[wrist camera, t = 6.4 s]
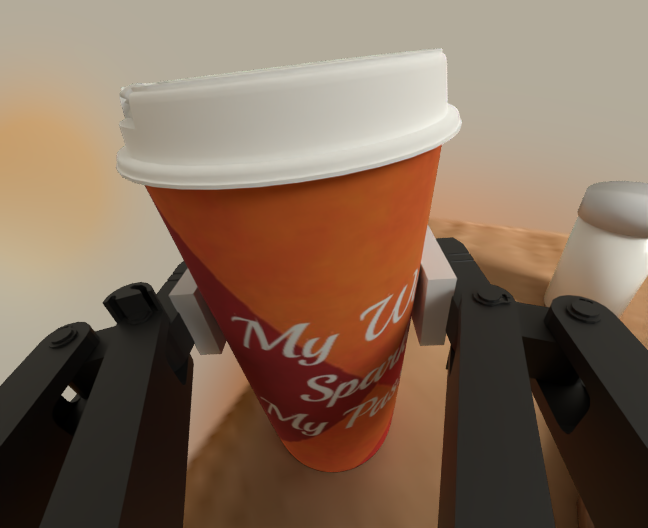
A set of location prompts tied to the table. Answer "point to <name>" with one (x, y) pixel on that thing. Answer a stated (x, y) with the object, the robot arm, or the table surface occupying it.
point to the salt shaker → (606, 247)
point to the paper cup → (302, 226)
